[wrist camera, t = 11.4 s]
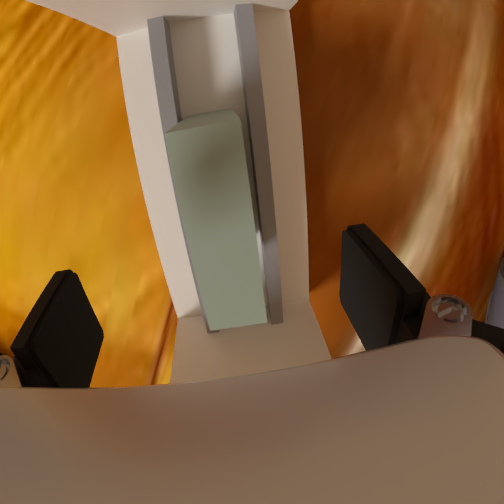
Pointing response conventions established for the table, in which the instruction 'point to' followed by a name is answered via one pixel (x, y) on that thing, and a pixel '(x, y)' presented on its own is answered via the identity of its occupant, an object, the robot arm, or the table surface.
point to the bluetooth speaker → (497, 300)
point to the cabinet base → (256, 150)
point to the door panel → (218, 216)
